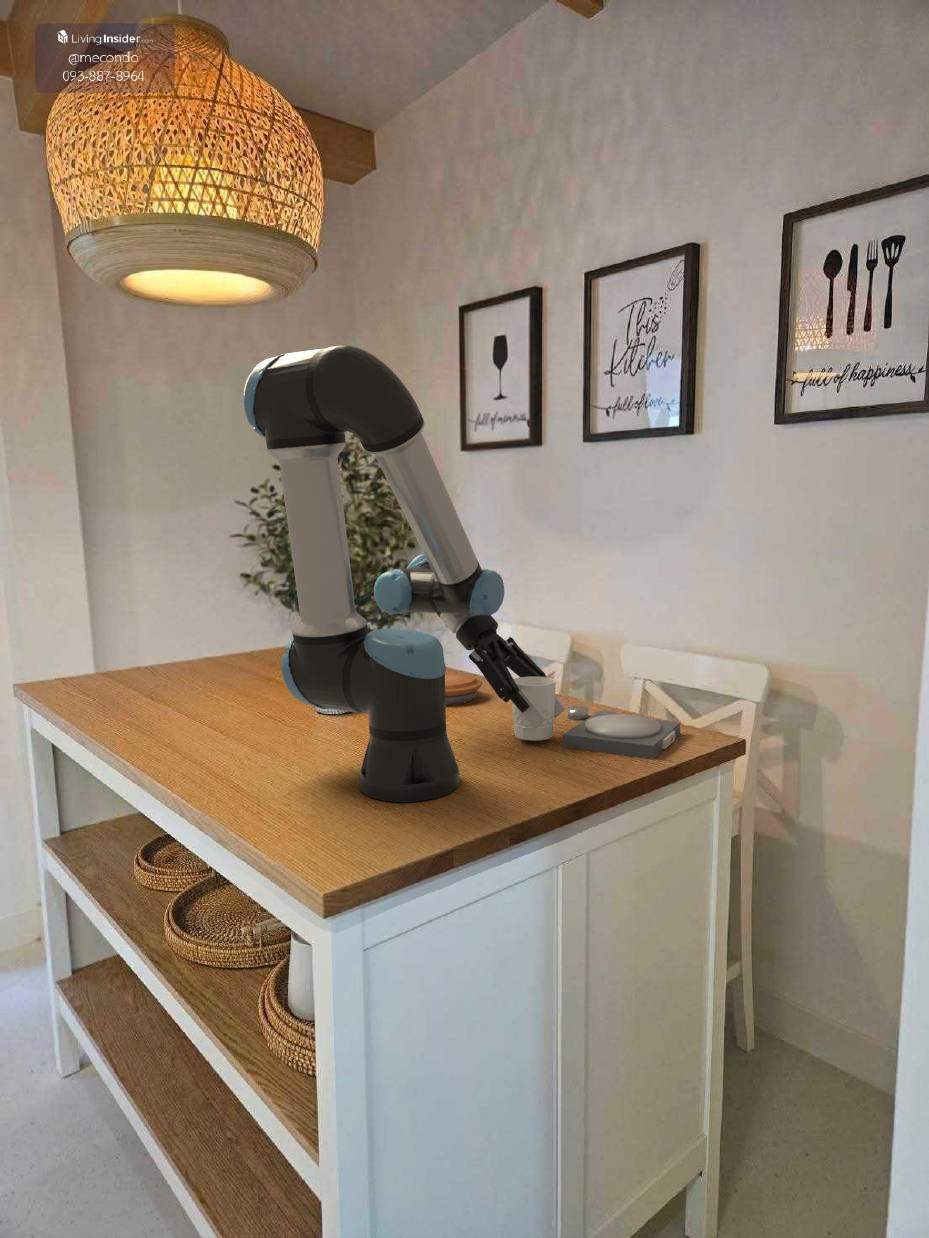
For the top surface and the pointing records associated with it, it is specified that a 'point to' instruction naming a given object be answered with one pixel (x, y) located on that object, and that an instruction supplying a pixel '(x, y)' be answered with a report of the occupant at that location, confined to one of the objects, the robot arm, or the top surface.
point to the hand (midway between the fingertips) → (551, 718)
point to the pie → (460, 688)
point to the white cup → (544, 699)
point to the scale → (622, 735)
